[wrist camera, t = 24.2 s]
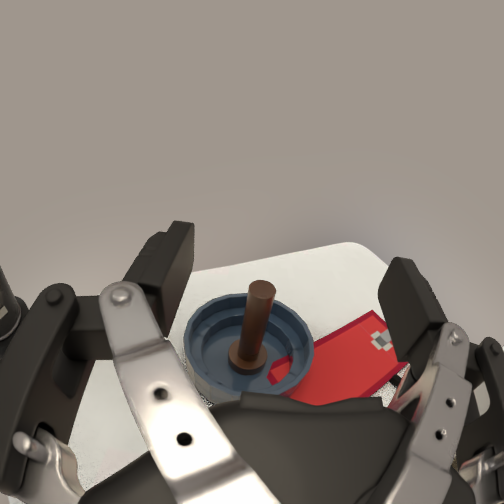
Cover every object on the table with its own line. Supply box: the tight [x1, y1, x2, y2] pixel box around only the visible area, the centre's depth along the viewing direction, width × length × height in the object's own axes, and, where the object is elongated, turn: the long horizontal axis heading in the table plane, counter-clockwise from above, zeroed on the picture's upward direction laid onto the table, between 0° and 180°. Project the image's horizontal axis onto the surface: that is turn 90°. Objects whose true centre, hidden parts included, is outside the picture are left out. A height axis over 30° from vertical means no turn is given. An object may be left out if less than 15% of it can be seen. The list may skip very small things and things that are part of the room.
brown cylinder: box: [228, 280, 276, 375], centre depth 30 cm, size 5×5×13 cm
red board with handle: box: [266, 310, 409, 405], centre depth 35 cm, size 30×3×15 cm
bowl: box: [183, 293, 314, 405], centre depth 33 cm, size 15×15×5 cm
